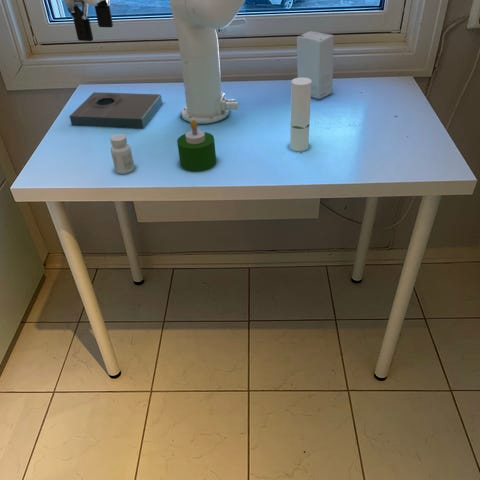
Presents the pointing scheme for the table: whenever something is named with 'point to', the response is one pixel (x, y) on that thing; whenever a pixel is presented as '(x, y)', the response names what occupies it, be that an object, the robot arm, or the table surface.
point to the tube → (300, 113)
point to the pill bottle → (121, 154)
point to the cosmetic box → (316, 61)
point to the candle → (196, 149)
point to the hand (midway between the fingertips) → (96, 33)
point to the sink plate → (116, 110)
